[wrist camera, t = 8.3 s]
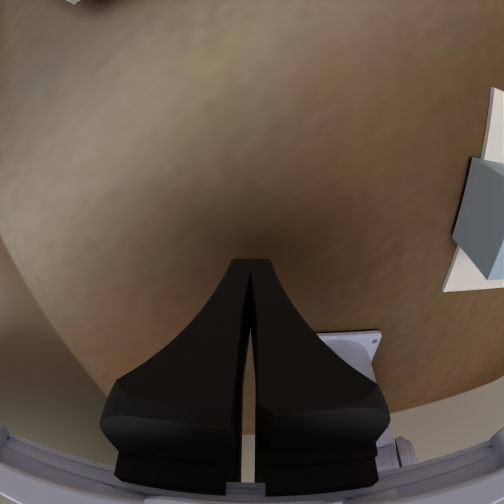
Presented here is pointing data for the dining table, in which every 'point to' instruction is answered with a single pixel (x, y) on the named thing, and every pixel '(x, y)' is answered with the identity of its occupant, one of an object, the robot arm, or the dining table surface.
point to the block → (483, 218)
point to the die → (73, 1)
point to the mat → (494, 149)
